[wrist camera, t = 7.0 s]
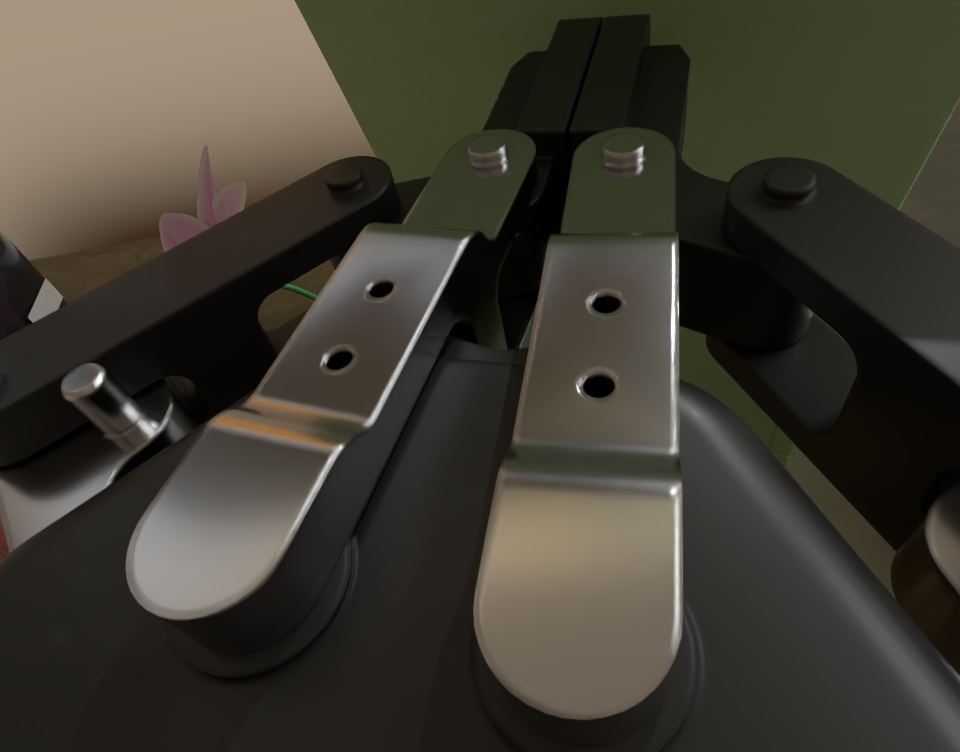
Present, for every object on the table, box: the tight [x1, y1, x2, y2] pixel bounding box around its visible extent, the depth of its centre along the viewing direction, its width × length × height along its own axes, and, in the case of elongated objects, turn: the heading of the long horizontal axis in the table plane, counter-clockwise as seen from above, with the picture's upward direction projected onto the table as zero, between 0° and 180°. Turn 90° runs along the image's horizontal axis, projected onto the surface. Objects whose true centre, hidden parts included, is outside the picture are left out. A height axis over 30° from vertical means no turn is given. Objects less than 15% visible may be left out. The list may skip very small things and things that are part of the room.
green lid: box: [295, 0, 960, 210], centre depth 13 cm, size 14×12×1 cm
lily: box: [159, 145, 318, 300], centre depth 32 cm, size 12×12×10 cm
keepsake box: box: [679, 312, 836, 467], centre depth 27 cm, size 14×12×9 cm
